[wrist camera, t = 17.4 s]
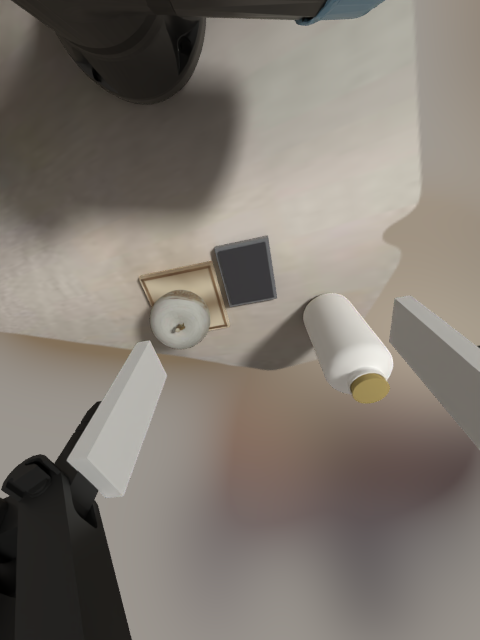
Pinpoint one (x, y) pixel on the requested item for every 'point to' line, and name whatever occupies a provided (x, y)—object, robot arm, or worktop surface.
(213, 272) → the board
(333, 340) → the potion bottle
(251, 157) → the worktop surface
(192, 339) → the decorative object
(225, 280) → the ink pad
